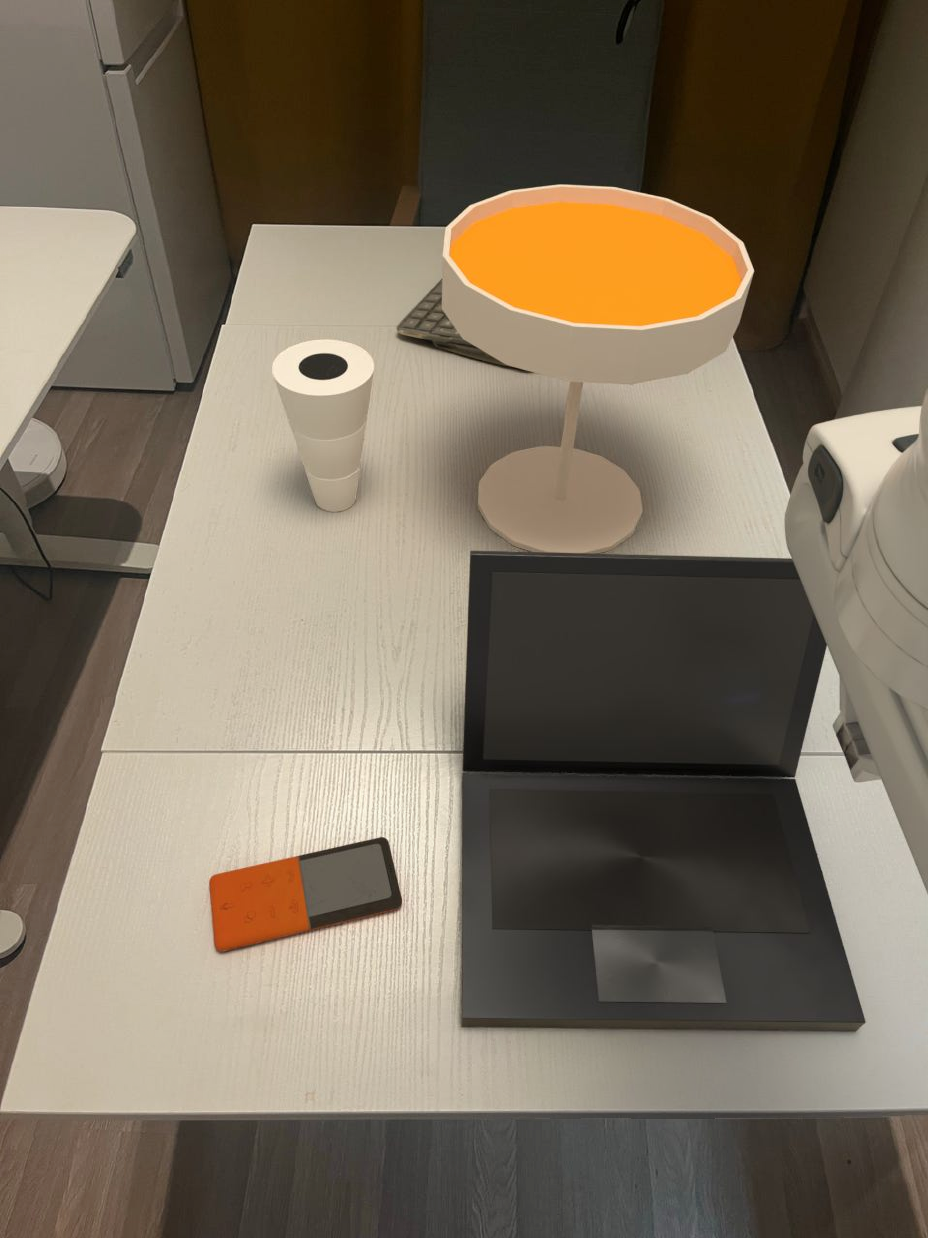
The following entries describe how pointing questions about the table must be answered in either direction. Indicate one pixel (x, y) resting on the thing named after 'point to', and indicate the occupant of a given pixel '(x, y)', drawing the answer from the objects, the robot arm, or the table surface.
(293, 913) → the phone
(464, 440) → the table surface
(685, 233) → the cream stemmed bowl
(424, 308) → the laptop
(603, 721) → the notebook screen
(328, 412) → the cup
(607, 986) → the notebook
